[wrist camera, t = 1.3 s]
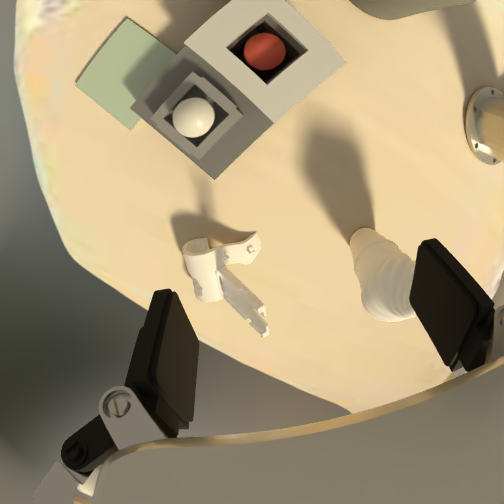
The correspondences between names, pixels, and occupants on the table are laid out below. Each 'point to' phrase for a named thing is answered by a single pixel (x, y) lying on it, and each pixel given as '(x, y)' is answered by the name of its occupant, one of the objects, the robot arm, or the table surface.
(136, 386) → the robot arm
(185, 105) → the on button
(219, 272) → the plastic part
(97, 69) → the mat
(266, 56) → the breaker button
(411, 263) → the soft serve ice cream cone
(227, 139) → the grey push-button box
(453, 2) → the water bottle
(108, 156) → the table surface
